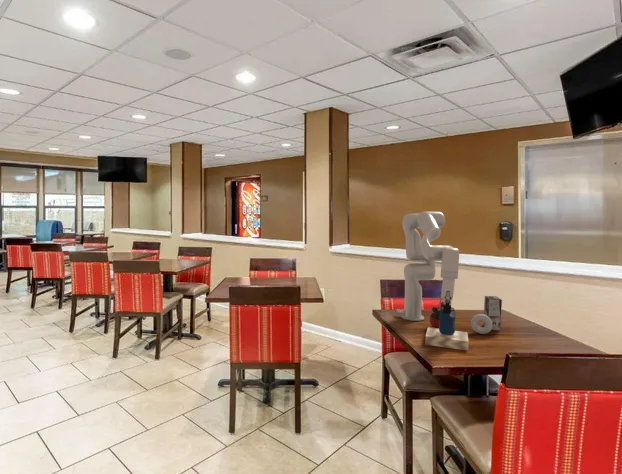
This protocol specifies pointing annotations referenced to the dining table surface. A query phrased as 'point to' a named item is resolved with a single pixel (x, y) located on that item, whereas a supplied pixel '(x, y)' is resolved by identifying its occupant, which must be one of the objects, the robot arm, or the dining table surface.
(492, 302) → the coffee box
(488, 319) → the donut
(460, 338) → the block
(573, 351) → the dining table surface
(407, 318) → the robot arm
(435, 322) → the cake
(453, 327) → the soda can
